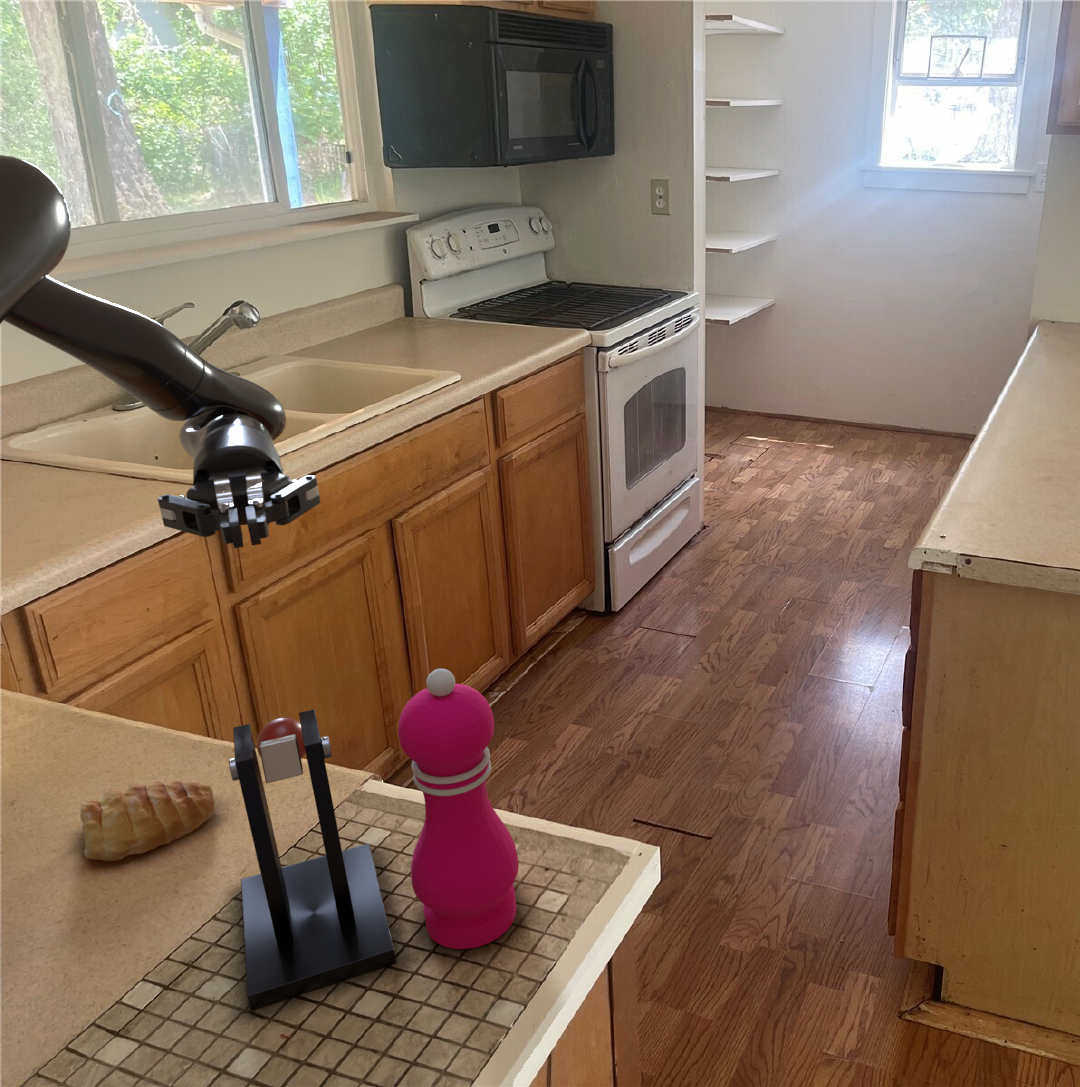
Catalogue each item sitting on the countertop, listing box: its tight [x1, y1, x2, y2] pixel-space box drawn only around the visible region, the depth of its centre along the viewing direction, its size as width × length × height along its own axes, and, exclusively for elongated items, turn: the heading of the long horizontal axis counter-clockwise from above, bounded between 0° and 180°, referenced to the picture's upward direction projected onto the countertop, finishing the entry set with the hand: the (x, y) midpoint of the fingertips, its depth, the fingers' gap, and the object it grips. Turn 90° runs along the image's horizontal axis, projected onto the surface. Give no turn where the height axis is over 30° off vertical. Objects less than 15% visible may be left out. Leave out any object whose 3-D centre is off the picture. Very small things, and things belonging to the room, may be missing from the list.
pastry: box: [79, 780, 217, 862], centre depth 80 cm, size 9×7×4 cm
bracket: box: [228, 709, 397, 1011], centre depth 68 cm, size 12×9×16 cm
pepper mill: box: [397, 668, 520, 950], centre depth 68 cm, size 7×7×20 cm
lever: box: [256, 717, 306, 784], centre depth 71 cm, size 13×4×4 cm, turn 25°
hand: (245, 534), depth 80 cm, fingers closed
